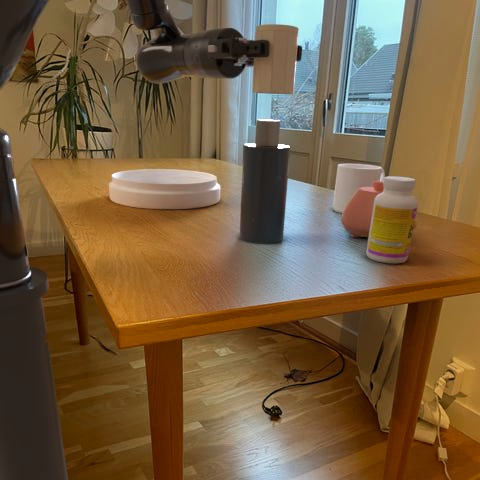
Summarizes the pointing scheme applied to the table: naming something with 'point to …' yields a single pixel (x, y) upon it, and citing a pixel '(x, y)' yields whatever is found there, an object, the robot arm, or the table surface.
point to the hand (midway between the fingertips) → (284, 50)
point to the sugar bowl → (362, 210)
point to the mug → (354, 182)
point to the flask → (264, 185)
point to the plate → (164, 189)
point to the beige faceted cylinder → (276, 60)
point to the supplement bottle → (392, 221)
